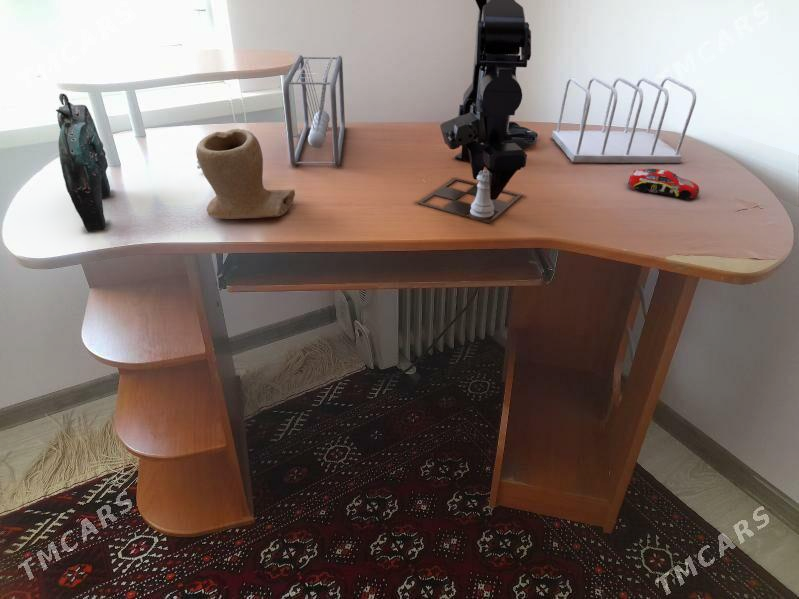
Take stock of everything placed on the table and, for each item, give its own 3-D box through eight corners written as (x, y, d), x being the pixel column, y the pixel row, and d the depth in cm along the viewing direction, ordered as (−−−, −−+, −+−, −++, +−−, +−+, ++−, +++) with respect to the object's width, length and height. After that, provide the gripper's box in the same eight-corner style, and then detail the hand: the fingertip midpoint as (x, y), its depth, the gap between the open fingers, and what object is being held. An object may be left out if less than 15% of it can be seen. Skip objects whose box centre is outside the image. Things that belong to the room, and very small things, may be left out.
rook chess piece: (493, 220, 98) (498, 178, 94) (468, 218, 99) (472, 176, 94) (494, 210, 102) (499, 169, 97) (470, 207, 103) (474, 167, 98)
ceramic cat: (85, 190, 106) (49, 83, 95) (121, 186, 108) (90, 81, 97) (75, 236, 91) (31, 114, 80) (117, 230, 93) (80, 111, 82)
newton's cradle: (304, 126, 142) (298, 53, 132) (345, 127, 142) (342, 53, 132) (290, 169, 117) (281, 83, 107) (339, 169, 118) (335, 83, 108)
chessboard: (455, 179, 114) (455, 178, 114) (521, 195, 107) (522, 194, 107) (417, 203, 104) (417, 202, 104) (489, 224, 97) (489, 223, 97)
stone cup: (199, 229, 94) (180, 143, 85) (216, 200, 103) (201, 121, 95) (287, 229, 94) (277, 144, 86) (296, 201, 104) (288, 121, 95)
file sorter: (572, 163, 122) (586, 91, 114) (550, 138, 137) (562, 73, 128) (680, 163, 124) (703, 92, 115) (648, 138, 138) (666, 73, 129)
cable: (465, 148, 130) (467, 129, 128) (466, 130, 142) (468, 113, 139) (538, 152, 128) (541, 133, 126) (533, 133, 140) (536, 116, 137)
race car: (697, 193, 110) (704, 174, 108) (696, 203, 106) (703, 183, 104) (629, 180, 115) (634, 162, 112) (625, 189, 111) (631, 170, 108)
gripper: (432, 87, 95) (428, 172, 104) (464, 118, 80) (456, 214, 89) (492, 84, 97) (483, 168, 106) (535, 114, 82) (520, 209, 91)
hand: (484, 188), depth 98 cm, fingers open, 9 cm apart
